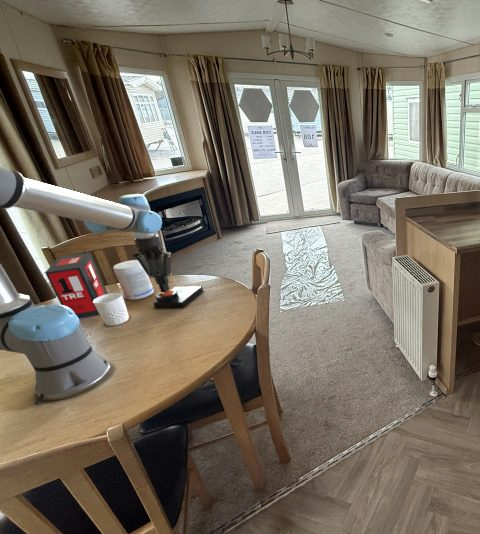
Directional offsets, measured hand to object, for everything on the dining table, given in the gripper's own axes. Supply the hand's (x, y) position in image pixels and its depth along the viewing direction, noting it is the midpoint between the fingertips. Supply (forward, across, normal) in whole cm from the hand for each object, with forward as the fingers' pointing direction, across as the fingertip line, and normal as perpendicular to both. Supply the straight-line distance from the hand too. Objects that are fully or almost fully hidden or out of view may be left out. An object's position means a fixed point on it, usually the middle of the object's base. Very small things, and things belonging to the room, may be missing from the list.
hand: (165, 290), depth 137 cm
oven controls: (+6, -2, -3) cm, 7 cm away
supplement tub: (+6, +16, -7) cm, 19 cm away
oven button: (+2, 0, 0) cm, 2 cm away
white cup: (+6, +10, +13) cm, 18 cm away
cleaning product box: (+6, +28, +3) cm, 29 cm away
